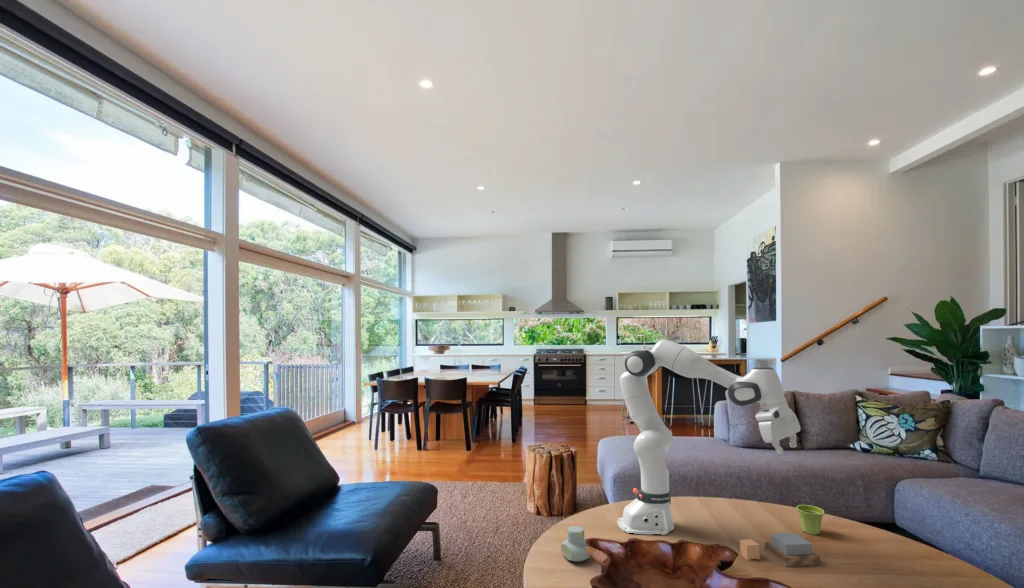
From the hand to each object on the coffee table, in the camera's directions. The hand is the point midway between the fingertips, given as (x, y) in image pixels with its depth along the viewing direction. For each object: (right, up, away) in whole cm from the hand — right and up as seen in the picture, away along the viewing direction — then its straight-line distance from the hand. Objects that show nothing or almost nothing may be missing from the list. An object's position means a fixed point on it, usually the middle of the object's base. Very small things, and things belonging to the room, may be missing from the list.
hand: (787, 450), depth 174 cm
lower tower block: (0, -38, -2) cm, 38 cm away
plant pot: (+20, -38, +18) cm, 47 cm away
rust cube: (-14, -37, -1) cm, 40 cm away
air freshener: (-75, -38, -1) cm, 84 cm away
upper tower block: (0, -34, -2) cm, 34 cm away
